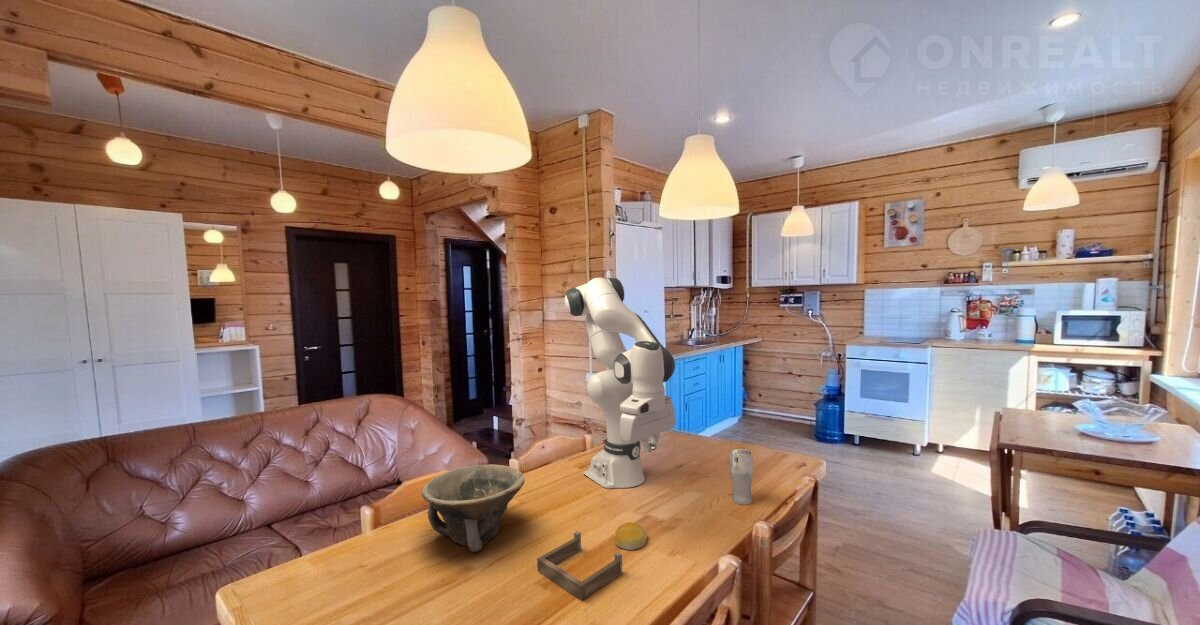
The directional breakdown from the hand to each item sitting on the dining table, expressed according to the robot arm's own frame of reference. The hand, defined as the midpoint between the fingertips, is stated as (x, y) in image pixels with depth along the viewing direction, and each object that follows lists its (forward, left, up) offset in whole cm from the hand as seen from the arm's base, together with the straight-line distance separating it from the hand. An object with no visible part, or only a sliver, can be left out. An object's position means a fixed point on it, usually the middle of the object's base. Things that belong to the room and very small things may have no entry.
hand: (650, 450), depth 121 cm
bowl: (-34, -35, -21) cm, 53 cm away
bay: (0, -27, -21) cm, 35 cm away
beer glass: (+11, +30, -21) cm, 39 cm away
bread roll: (0, -10, -22) cm, 24 cm away
